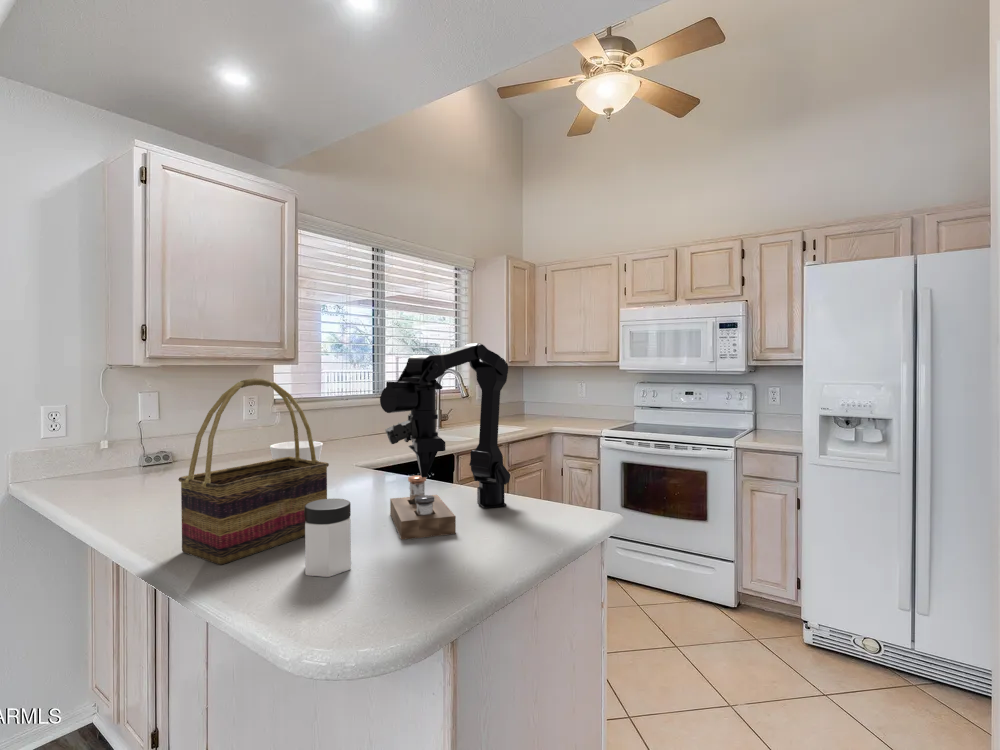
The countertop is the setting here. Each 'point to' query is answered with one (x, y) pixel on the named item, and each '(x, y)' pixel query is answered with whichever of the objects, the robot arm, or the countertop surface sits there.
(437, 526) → the socket block
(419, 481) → the copper capped plug
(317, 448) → the cup
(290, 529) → the basket
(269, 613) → the countertop surface
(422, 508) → the grey plug
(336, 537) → the jar
